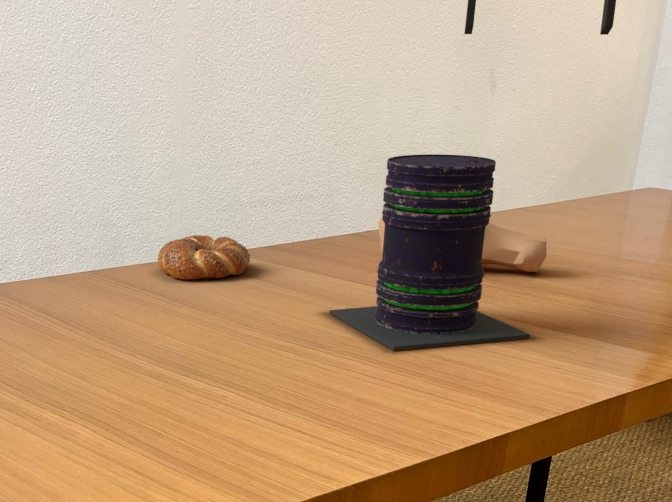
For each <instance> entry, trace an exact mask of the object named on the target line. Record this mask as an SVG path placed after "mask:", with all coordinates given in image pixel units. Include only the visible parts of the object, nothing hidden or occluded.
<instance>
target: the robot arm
mask: <svg viewBox="0 0 672 502" xmlns="http://www.w3.org/2000/svg"><path fill="white" fill-rule="evenodd" d="M603 1H604V2H603V9H602V16H601V17H602V18H601V25H600V33H599V35H600V36H601V35H605V36H606V35H609V34H610V33H611V30H612V29H613V27H614V22H615V13H616V5H617V0H603ZM476 6H477V0H467V6H466V16H465V26H464V35H472V34H473V29H474V25H475V24H474V22H475V13H476Z"/></svg>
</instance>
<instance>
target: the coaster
mask: <svg viewBox="0 0 672 502" xmlns="http://www.w3.org/2000/svg"><path fill="white" fill-rule="evenodd" d="M377 308H378V306H377V305H375V306H363V307H354V308H353V307H351V308H338V309H329V315H330V316H332V317H334V318H336V319H338V320H339V321H341V322H343V323H344V324H346V325H348V326H349V327H351V328H353V329H355V330H356V331H359V332H360V333H362V334H364V335H365V336H367V337H369V338H370V339H372V340H374V341H376V342H378V343H379V344H381V345H382V346H384V347H386V348H388V349H390V350H391V351H393V352H395V351H408V350H419V349H430V348H438V347H449V346H451V347H452V346H460V345H471V344H482V343H493V342H494V343H495V342H504V341H514V340H525V339H530V336H531V333H528V332H526V331H524V330H521V329H519V328H517V327H515V326H512V325H510V324H507V323H505V322H503V321H501V320H498V319H496V318H494V317H491V316H490V315H488V314H485V313H483V312H480V311H478V310H477V311H476V317H477V323H476V326H475V327H474V328H473V329H471V330H469V331H465V332H460V333H454V334H437V335H433V334H415V333H407V332H401V331H396V330H392V329H389V328H386V327H383V326H381V325H379V324H378V323H377V322H376V321H375V314H376V311H377Z"/></svg>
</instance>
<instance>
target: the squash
mask: <svg viewBox="0 0 672 502" xmlns="http://www.w3.org/2000/svg"><path fill="white" fill-rule="evenodd" d="M382 218H383V214H382V213H381V216H380V218H379V220H378V232H379V233H378V234H379V243H380V253H382V254H383V242H384V230H385V223H384V222H383V220H382ZM547 243H548V241H547V239H546V237H540V236H535V235H529V234H524V233H521V232H518V231H514V230H510V229H507V228H503V227H501V226H498V225H496V224H493V223H491V222H489V224H488V225H487V226H486V227H485V235H484V244H483V252H482V260H481V265H493V266H494V265H495V266H502V267H507V268H514V269H517V270H520V271H524V272H527V273H529V272H532V273H533V272H536V273H537V272H538V271H539V269H540V268H541V266H542V265H543V263H544V261H545V260H546V258H547V255H548V254H547Z"/></svg>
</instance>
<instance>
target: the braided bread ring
mask: <svg viewBox="0 0 672 502" xmlns="http://www.w3.org/2000/svg"><path fill="white" fill-rule="evenodd" d="M250 262H251V254H250V253H249V250H248V249H247V248H246V246H244V245H243V244H241V243H239V242H238V241H237V240H235V239H234V238H231V237H228V236H220V237H217V238H216V239H214V238H212V236H210V235H201V234H198V235H197V234H193V235H190V236H185V237H182V238H180V239H178V238H177V239H174V240H170V241H169V242H166V243H165V244H164V245H163V246H162V247H161V249H160V250H159V252H158V255H157V263H158V267H159V268H160V270H161V271H162V272H163V273H165V274H166V275H169V276H170V277H172V278H174V279H179V280H198V279H208V278H211V279H222V278H225V277H227V276H229V275H231V276H238V275H241V274H243V273H244V271H246V269H247V267H248V265H249V264H250Z"/></svg>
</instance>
